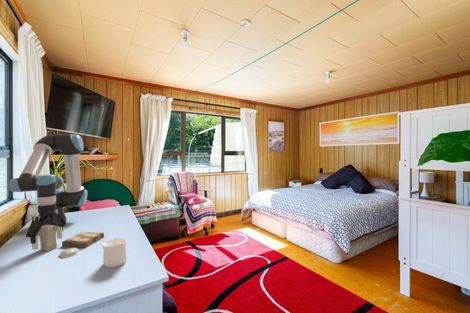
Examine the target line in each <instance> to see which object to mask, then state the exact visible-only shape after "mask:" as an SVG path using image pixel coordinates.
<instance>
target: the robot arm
mask: <svg viewBox="0 0 470 313" xmlns="http://www.w3.org/2000/svg"><path fill="white" fill-rule="evenodd" d="M32 149H33V151H32V153H31V155H30V156H29V158H28V160H27V162H26V164H25V165H24V168H23V170H22V171H21V173H20V175H19V176H18V177H15V178H11V179H10V180H9V181H8V188H9V190H10V191H11V192H13V193H23V192H24V193H26V192H36V196H37V197H36V198H37V199H36V201H37V202H36V203H37V204H36V205H37V214H38V215H33V216H32V217H31V222H30V225H29V227H28V230H27V232H26V234H25V238H29V239H30V244H31V250H33V251H34V250H35V251H36V250H39V235H38V234H39V233H40V229H41V228H42V226H45V225H55V226H56V239H61V240H62V239H63V232H64V227H65V226H66V224H67V221H68V220H67V216H66V214H65V212H64V208H73V207H82V206H85V205H86V203H87V200H88V190H87V189H85V187H84V186H83V185H82V177H81V176H82V175H81V167H80V166H81V164H80V154H82V151H84V142H83V138H82V136H80V134H71V133H67V134H66V133H61V134H60V133H51V134H47V135H45V136H42V137H41V138H40V139H38V140H37V141H36V142H35V143H34V145H33V147H32ZM53 152H59V153H60V155H61V156H63V162H64V170H65V179H66V180H65V181H66V188H65V189H64V190H63V189H60V188H61V187H62V186H63V185H64V184H65V182H64V178H62V177H61V176H60V175H59V176H58V175H54V174H40V173H41V172H42V169H43V167H44V164H45V163H46V161H47V158H48V156H49V155H51V154H52V153H53Z"/></svg>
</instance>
